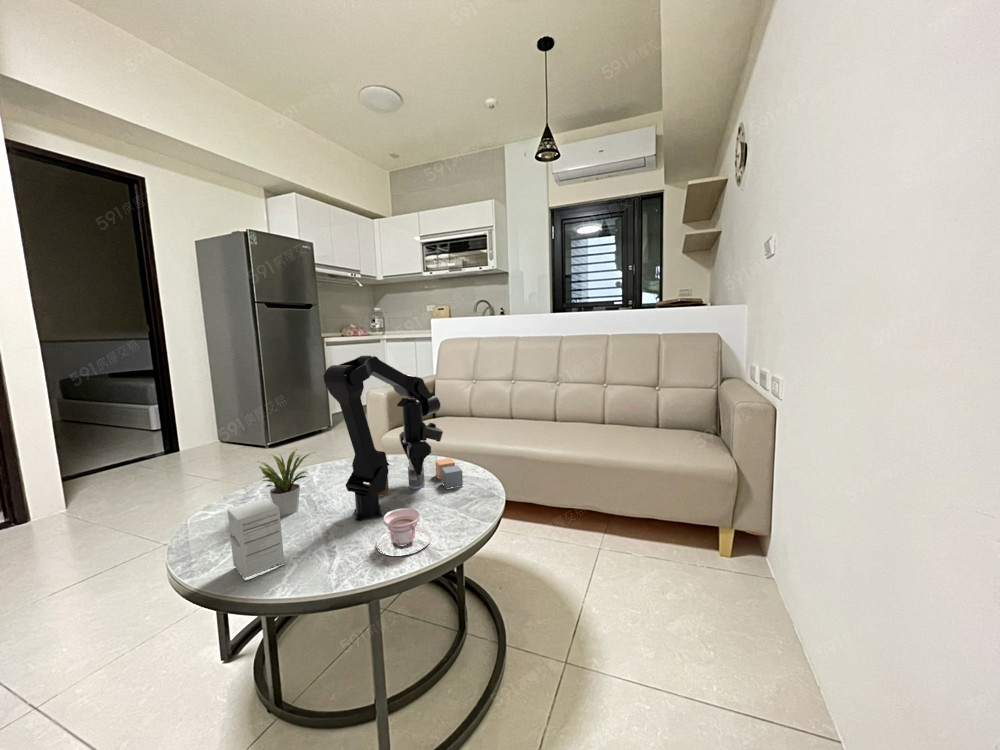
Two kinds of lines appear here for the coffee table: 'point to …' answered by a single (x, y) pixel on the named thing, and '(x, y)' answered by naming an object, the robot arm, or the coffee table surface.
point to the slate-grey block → (452, 476)
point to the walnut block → (384, 490)
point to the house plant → (284, 484)
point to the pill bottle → (415, 477)
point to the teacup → (402, 526)
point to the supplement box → (256, 537)
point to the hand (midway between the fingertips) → (415, 470)
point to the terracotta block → (443, 465)
